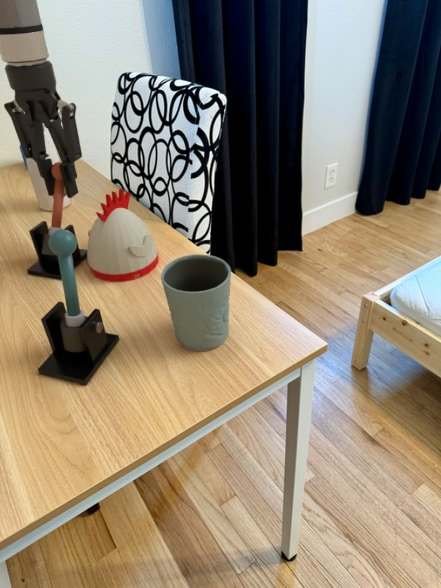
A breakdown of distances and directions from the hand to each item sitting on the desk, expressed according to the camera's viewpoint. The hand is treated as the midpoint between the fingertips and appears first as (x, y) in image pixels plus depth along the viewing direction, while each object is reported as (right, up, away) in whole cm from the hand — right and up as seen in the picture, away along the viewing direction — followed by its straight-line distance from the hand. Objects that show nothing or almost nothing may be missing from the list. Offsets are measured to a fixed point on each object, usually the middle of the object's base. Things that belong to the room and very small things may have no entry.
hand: (63, 193), depth 85 cm
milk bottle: (-11, +3, +26) cm, 28 cm away
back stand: (-1, -13, +3) cm, 14 cm away
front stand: (+10, -29, -18) cm, 36 cm away
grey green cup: (+28, -26, -16) cm, 42 cm away
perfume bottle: (-26, +21, +50) cm, 60 cm away
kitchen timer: (+12, -14, +2) cm, 18 cm away
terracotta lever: (0, -3, +1) cm, 3 cm away
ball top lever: (+11, -19, -23) cm, 31 cm away
